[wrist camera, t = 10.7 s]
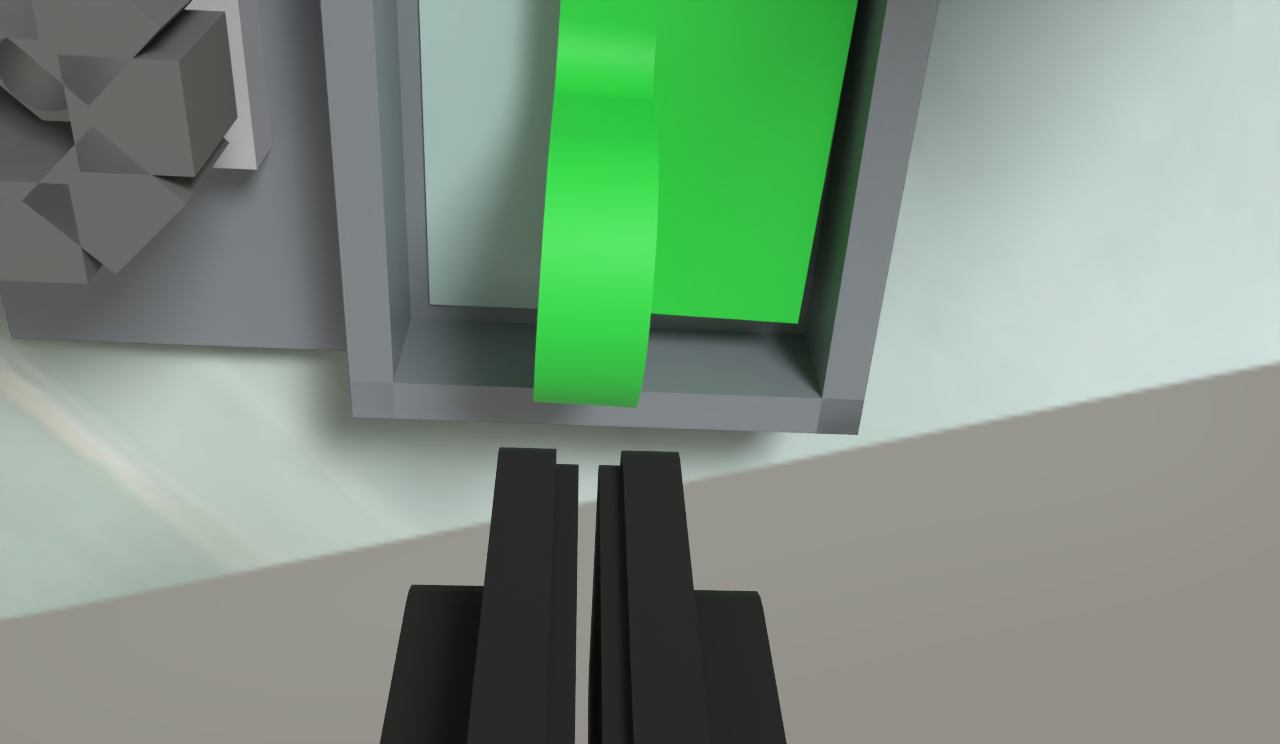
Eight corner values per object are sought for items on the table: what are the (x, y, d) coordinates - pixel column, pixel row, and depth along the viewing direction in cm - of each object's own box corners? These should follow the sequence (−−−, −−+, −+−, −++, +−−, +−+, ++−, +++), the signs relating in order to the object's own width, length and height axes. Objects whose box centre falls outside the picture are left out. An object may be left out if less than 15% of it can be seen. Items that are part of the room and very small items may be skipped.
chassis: (954, -400, 24) (1036, -402, 19) (831, 349, 33) (867, 466, 28) (-159, -480, 23) (-348, -502, 18) (27, 318, 32) (-68, 435, 27)
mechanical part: (787, 284, 30) (839, 476, 24) (545, 266, 30) (529, 458, 23) (882, -254, 24) (991, -200, 17) (578, -285, 24) (569, -242, 17)
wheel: (210, -114, 22) (159, -78, 19) (250, 221, 26) (210, 288, 23) (-169, -136, 22) (-272, -102, 19) (-77, 206, 25) (-153, 274, 23)
